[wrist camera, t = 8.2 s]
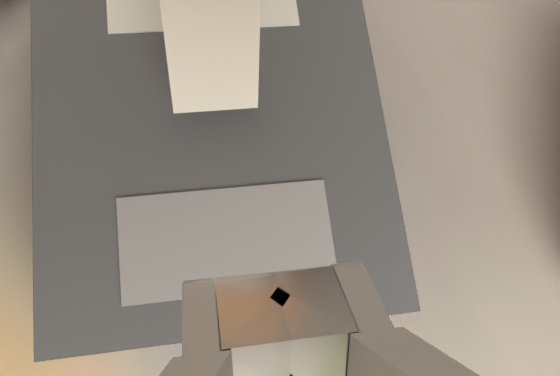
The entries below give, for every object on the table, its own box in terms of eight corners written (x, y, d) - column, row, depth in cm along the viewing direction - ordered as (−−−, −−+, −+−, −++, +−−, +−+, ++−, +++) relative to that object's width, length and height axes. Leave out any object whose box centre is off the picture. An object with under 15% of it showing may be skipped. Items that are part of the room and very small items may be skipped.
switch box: (374, 316, 26) (421, 311, 20) (76, 355, 24) (33, 362, 18) (320, -3, 30) (346, -83, 25) (66, 6, 28) (29, -79, 23)
